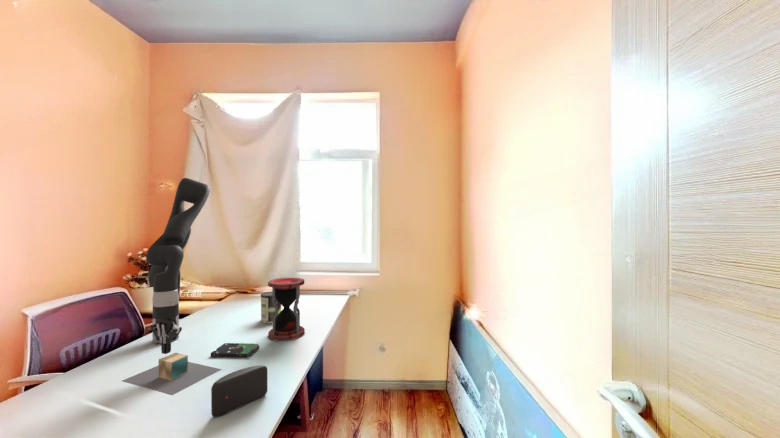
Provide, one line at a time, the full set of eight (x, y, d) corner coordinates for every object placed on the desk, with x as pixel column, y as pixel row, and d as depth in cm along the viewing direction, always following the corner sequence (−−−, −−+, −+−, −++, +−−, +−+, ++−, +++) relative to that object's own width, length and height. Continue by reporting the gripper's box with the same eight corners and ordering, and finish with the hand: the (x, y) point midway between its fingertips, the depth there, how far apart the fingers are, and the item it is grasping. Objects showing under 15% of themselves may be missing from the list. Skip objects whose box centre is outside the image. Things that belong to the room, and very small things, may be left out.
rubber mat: (121, 382, 109) (121, 380, 109) (174, 360, 126) (174, 358, 126) (172, 396, 101) (172, 395, 101) (221, 370, 117) (221, 369, 117)
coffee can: (284, 317, 179) (284, 291, 179) (277, 323, 169) (277, 295, 169) (265, 317, 179) (265, 291, 179) (257, 323, 169) (257, 295, 169)
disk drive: (210, 360, 127) (247, 360, 127) (209, 353, 127) (247, 353, 127) (224, 349, 138) (259, 349, 137) (224, 342, 138) (259, 342, 137)
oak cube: (158, 359, 112) (171, 362, 109) (175, 352, 117) (187, 355, 115) (158, 377, 112) (171, 380, 109) (175, 369, 117) (188, 372, 115)
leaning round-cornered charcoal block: (261, 390, 105) (260, 360, 105) (268, 395, 102) (268, 364, 102) (206, 414, 92) (205, 380, 92) (213, 420, 89) (212, 385, 89)
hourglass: (284, 343, 143) (284, 285, 142) (260, 336, 151) (260, 281, 151) (312, 332, 156) (311, 279, 156) (288, 326, 165) (288, 276, 164)
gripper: (141, 303, 113) (142, 354, 113) (168, 307, 108) (168, 360, 109) (163, 298, 120) (163, 346, 120) (189, 302, 115) (189, 351, 116)
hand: (166, 352), depth 115 cm, fingers closed
